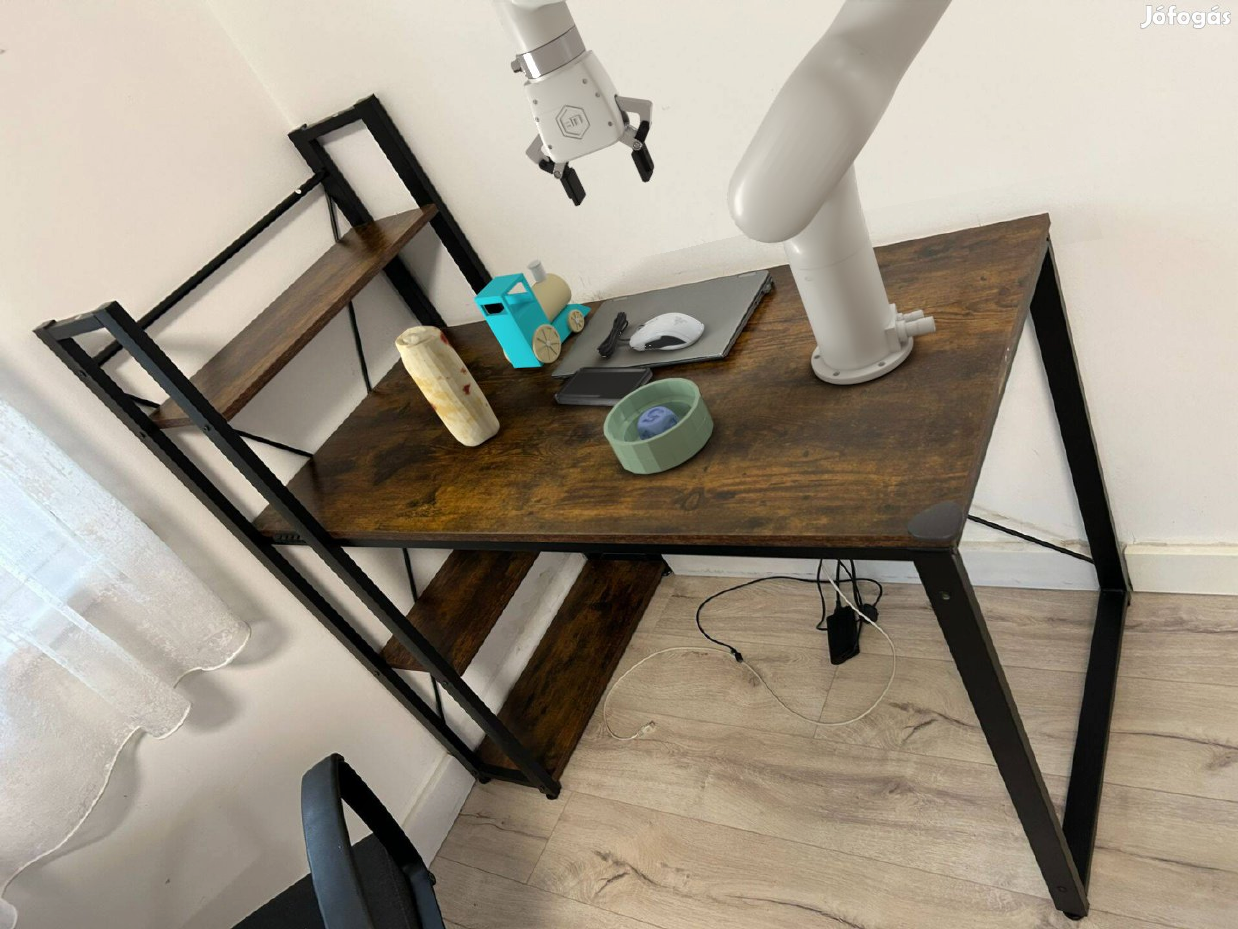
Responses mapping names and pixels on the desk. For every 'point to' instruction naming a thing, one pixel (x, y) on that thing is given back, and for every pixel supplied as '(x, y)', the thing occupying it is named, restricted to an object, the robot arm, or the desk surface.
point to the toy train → (532, 316)
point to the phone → (602, 385)
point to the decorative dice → (656, 422)
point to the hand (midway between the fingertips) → (614, 189)
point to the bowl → (670, 443)
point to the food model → (447, 384)
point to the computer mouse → (655, 333)
